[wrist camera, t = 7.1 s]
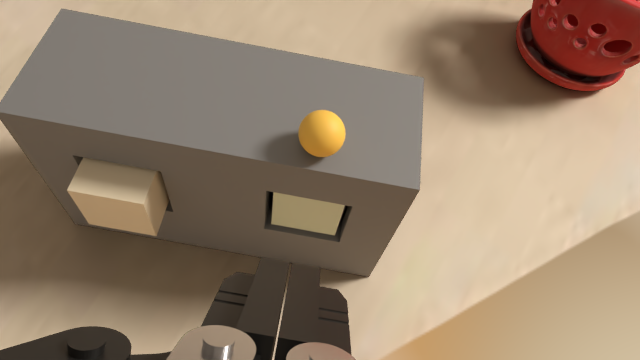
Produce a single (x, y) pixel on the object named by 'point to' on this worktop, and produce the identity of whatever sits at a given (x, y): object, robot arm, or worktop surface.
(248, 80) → the keypad console
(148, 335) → the worktop surface
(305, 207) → the key sage
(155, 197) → the block
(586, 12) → the plant pot
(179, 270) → the worktop surface
